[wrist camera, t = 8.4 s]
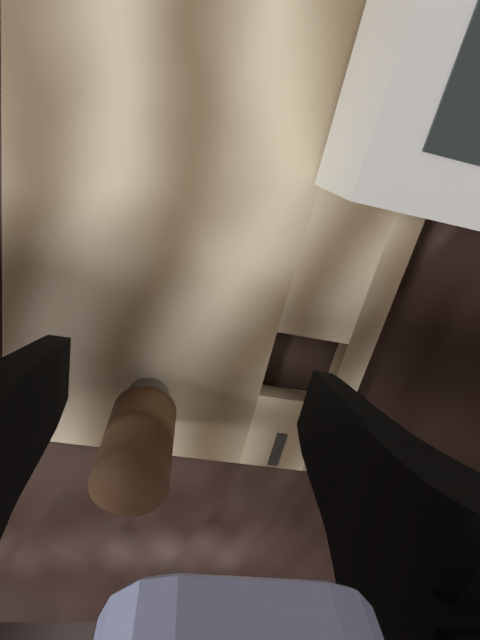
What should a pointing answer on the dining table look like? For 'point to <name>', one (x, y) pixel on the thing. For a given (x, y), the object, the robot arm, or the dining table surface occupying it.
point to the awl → (135, 451)
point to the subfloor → (186, 209)
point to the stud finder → (410, 113)
